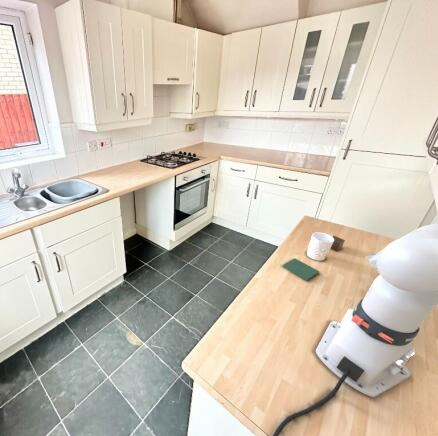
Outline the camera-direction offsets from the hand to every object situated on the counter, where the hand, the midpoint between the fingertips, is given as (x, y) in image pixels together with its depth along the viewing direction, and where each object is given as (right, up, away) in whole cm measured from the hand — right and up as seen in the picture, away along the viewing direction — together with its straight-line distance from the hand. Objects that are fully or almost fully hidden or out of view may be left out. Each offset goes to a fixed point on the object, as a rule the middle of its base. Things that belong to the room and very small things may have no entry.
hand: (367, 258), depth 91 cm
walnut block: (+4, +1, +22) cm, 22 cm away
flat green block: (-20, -6, +9) cm, 22 cm away
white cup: (-8, -2, +17) cm, 19 cm away
